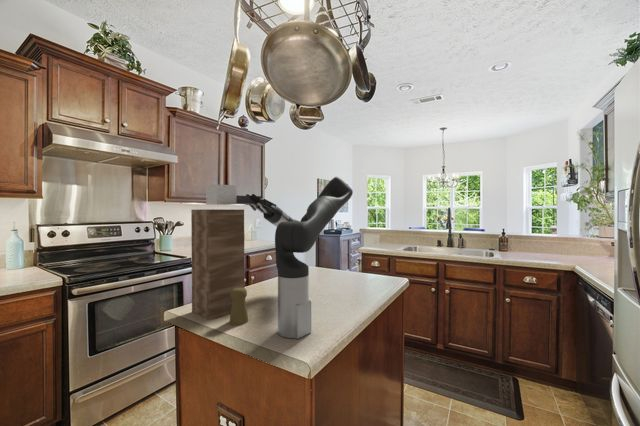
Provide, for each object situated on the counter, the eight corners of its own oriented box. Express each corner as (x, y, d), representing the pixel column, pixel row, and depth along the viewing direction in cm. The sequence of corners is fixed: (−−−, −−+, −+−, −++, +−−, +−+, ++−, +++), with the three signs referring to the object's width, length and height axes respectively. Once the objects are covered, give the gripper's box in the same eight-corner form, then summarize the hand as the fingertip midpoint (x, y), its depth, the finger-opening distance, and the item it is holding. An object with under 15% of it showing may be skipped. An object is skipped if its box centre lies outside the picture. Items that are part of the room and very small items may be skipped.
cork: (243, 325, 94) (243, 291, 94) (225, 324, 95) (225, 290, 95) (251, 318, 100) (251, 286, 99) (235, 317, 101) (234, 285, 101)
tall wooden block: (244, 308, 110) (244, 209, 110) (210, 319, 99) (209, 209, 99) (225, 302, 117) (225, 209, 117) (191, 311, 106) (191, 209, 106)
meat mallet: (265, 204, 121) (265, 187, 121) (217, 204, 104) (216, 184, 103) (254, 204, 125) (254, 188, 125) (206, 204, 108) (206, 185, 108)
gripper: (269, 209, 136) (241, 188, 124) (290, 208, 127) (263, 187, 116) (262, 223, 133) (234, 204, 122) (284, 224, 125) (256, 203, 113)
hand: (249, 196), depth 119 cm, fingers closed on meat mallet, 3 cm apart
